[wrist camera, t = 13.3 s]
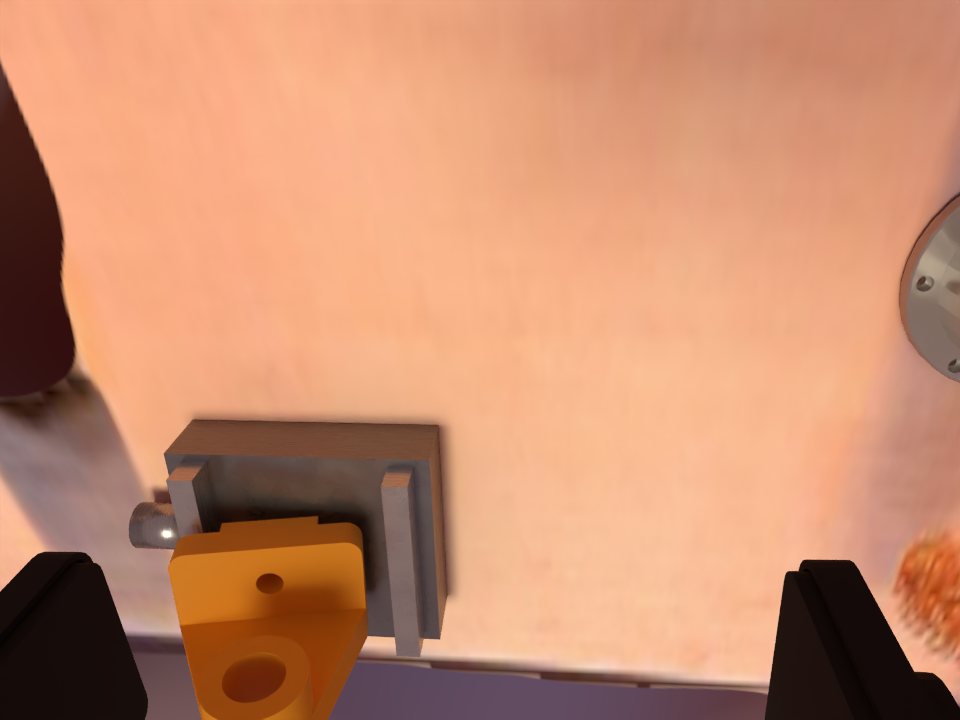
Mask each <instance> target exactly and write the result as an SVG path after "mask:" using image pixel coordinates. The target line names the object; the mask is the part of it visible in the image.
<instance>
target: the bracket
mask: <svg viewBox="0 0 960 720" xmlns="http://www.w3.org/2000/svg"><path fill="white" fill-rule="evenodd" d="M168 572H169V576H170V581H171V586H172V590H173V595H174V600H175V604H176V609H177V614H178V618H179V623H180V628H181V632H182V637H183V642H184V646H185V651H186V655H187V660H188V664H189V668H190V672H191V676H192V681H193V685H194V689H195V693H196V698H197V702H198V706H199V710H200V715H201V719H202V720H328V718H329V715H330V713H331V711H332V709H333V707H334V705H335V703H336V701H337V699H338V697H339V695H340V692H341V690H342V688H343V686H344V684H345V682H346V680H347V678H348V676H349V674H350V672H351V670H352V667H353V665H354V663H355V661H356V659H357V657H358V655H359V653H360V651H361V649H362V647H363V645H364V642H365V640H366V638H367V636H368V609H367V594H366V580H365V566H364V551H363V537H362V532H361V530H360V528H359V527H358V526H356V525H354V524H352V523H346V522H345V523H331V524H319V520H318V516H312V517H298V518H285V519H272V520H258V521H245V522H232V523H222V525H221V529H220V532H213V533H200V534H189V535H186V536H183V537H182V538H180V539H179V540H178V542H177V544H176V547H175V550H174V552H173V555H172V558H171V561H170V564H169V567H168Z"/></svg>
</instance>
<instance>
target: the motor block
mask: <svg viewBox="0 0 960 720" xmlns="http://www.w3.org/2000/svg"><path fill="white" fill-rule="evenodd" d="M164 457H165V461H166V465H167V469H168V473H169V477H168V479H167V480H166V482H167V486H168V490H169V494H170V498H171V502H172V503H158V502H142V503H140V504H138V505H137V506H136V508H135V509H134V511H133V513H132V516H131V519H130V523H129V538H130V541H131V543H132V545H133V546H134V547H135V548H147V549H175V547H176V544H177V542H178V540H179V539H180V538H182V537H183V536H186V535H189V534H200V533H213V532H220V529H221V525H222V523H232V522H245V521H258V520H272V519H285V518H298V517H312V516H318V520H319V524H331V523H345V522H346V523H352V524H354V525H356V526H358V527H359V528H360V530H361V532H362V537H363V551H364V566H365V580H366V594H367V609H368V636H378V637H395V643H396V653H397V656H409V657H420V655H421V650H422V644H423V639H440V636H441V630H442V624H443V618H444V612H445V606H446V600H447V584H446V564H445V545H444V525H443V506H442V486H441V467H440V448H439V428H438V425H400V424H354V423H309V422H263V421H217V420H192V421H191V422H190V423H189V425H188V426H187V427H186V428H185V429H184V430H183V432H182V433H181V434H180V435H179V436H178V438H177V439H176V440H175V441H174V442H173V443H172V445H171V446H170V447H169V448H168V449H167V450H166V452H165V453H164Z"/></svg>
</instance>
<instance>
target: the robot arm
mask: <svg viewBox="0 0 960 720" xmlns="http://www.w3.org/2000/svg"><path fill="white" fill-rule="evenodd" d="M920 278H921V280H920V281H919V282H918V280H919V279H920ZM899 305H900V312H901V319H902V324H903V327H904V329H905V332H906V334H907V337H908V339H909V341H910V342H911V344H912V345H913V346H914V348H915V349H916V351H917V352H918V353H919V355H920V356H921V357H922V358H924V359H925V360H926V361H927V362H928V363H929V364H930V365H931V366H932V367H933V368H934V369H936V370H937V371H939V372H940V373H941V374H943V375H944V376H946V377H948V378H949V379H952V380H954V381H957V382H959V383H960V196H959V197H957V198H956V199H955V200H953V201H952V202H951V203H950V204H949V205H948V206H947V207H946V208H945V209H944V210H943V211H942V212H941V213H940V214H939V215H938V216H937V217H936V218H935V219H934V220H933V221H932V222H931V223H930V225H929V226H928V228H927V229H926V230H925V232H924V233H923V234H922V236H921V237H920V238H919V240H918V241H917V243H916V245H915V247H914V249H913V251H912V253H911V255H910V257H909V259H908V261H907V264H906V267H905V271H904V274H903V278H902V281H901V288H900V301H899ZM147 708H148V698H147V694H146V691H145V689H144V686H143V683H142V680H141V678H140V674H139V672H138V669H137V666H136V663H135V660H134V658H133V655H132V652H131V649H130V646H129V643H128V641H127V638H126V635H125V632H124V629H123V627H122V624H121V621H120V618H119V615H118V613H117V610H116V607H115V604H114V601H113V599H112V596H111V593H110V590H109V587H108V585H107V582H106V579H105V576H104V573H103V571H102V569H101V567H100V566H99V565H98V564H97V563H93V561H92V559H91V558H90V556H88V555H87V554H86V553H82V552H42V553H39V554H37V555H36V556H35V557H34V558H32V559H31V560H30V561H29V562H28V563H27V564H26V565H25V566H24V568H23V569H22V570H21V571H20V572H19V573H18V574H17V575H16V576H15V577H14V578H13V579H12V580H11V581H10V582H9V583H8V584H7V585H6V586H5V587H4V588H3V589H2V590H1V592H0V720H145V717H146V714H147ZM765 720H960V708H959V706H958V704H957V703H956V701H955V699H954V698H953V696H952V694H951V692H950V691H949V690H948V688H947V687H946V685H945V684H944V683H943V681H942V680H941V679H940V678H939V677H937V676H936V675H935V674H933V673H927V672H914V670H913V669H912V667H911V665H910V663H909V661H908V659H907V658H906V656H905V654H904V652H903V650H902V648H901V647H900V645H899V643H898V641H897V639H896V637H895V636H894V634H893V632H892V630H891V628H890V626H889V625H888V623H887V621H886V619H885V617H884V615H883V613H882V612H881V610H880V608H879V606H878V604H877V602H876V601H875V599H874V597H873V595H872V593H871V591H870V590H869V588H868V586H867V584H866V582H865V580H864V579H863V577H862V575H861V573H860V571H859V569H858V568H857V566H856V565H855V564H854V562H852V561H850V560H803V561H802V563H801V564H800V567H799V571H788V572H787V573H786V575H785V579H784V585H783V592H782V600H781V607H780V614H779V621H778V628H777V635H776V642H775V649H774V656H773V664H772V671H771V678H770V685H769V692H768V699H767V706H766V714H765Z"/></svg>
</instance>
